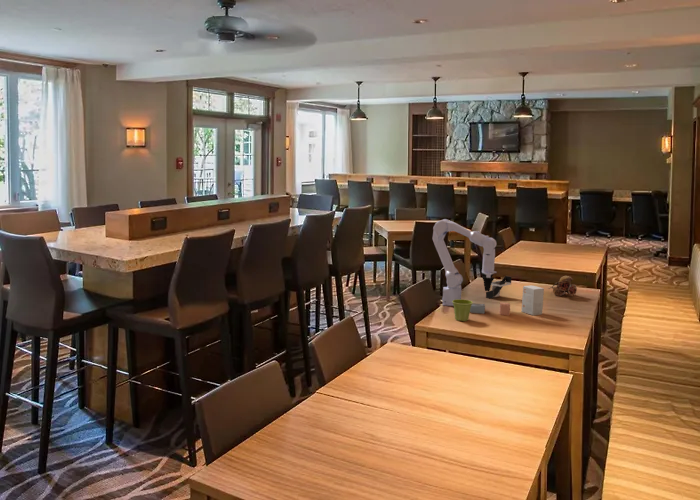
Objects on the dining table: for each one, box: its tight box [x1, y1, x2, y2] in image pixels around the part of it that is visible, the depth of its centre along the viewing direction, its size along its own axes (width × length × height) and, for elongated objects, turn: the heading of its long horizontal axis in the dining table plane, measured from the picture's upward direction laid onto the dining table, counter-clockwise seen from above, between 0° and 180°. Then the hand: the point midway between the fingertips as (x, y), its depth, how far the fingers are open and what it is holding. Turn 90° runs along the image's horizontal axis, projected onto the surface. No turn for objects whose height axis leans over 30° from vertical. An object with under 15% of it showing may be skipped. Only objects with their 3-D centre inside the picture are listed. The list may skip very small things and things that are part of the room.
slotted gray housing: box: [470, 303, 486, 314], centre depth 301 cm, size 8×5×4 cm, turn 80°
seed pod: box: [547, 275, 578, 297], centre depth 343 cm, size 13×16×15 cm
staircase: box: [485, 275, 513, 299], centre depth 332 cm, size 9×10×12 cm
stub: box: [499, 301, 511, 316], centre depth 299 cm, size 4×5×5 cm
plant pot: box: [452, 298, 473, 322], centre depth 286 cm, size 9×9×9 cm
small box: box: [521, 285, 545, 316], centre depth 301 cm, size 8×6×13 cm
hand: (486, 289), depth 307 cm, fingers open, 7 cm apart
